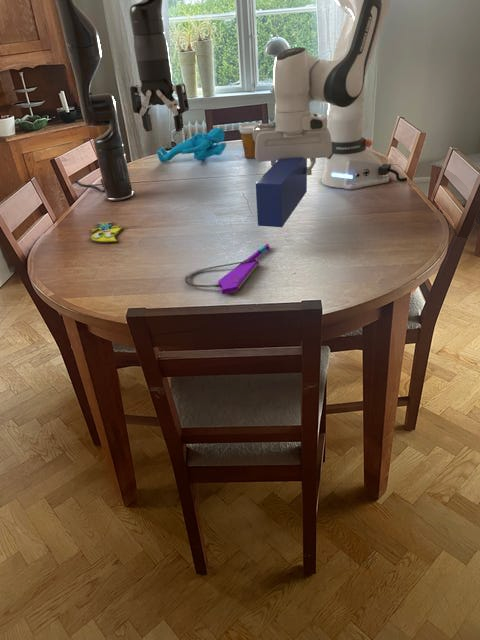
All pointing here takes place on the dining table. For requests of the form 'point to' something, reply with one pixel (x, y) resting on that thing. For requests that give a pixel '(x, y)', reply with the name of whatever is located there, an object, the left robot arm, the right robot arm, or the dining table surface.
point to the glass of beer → (248, 139)
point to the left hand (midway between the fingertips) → (164, 131)
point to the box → (280, 191)
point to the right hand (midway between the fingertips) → (293, 175)
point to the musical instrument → (234, 273)
